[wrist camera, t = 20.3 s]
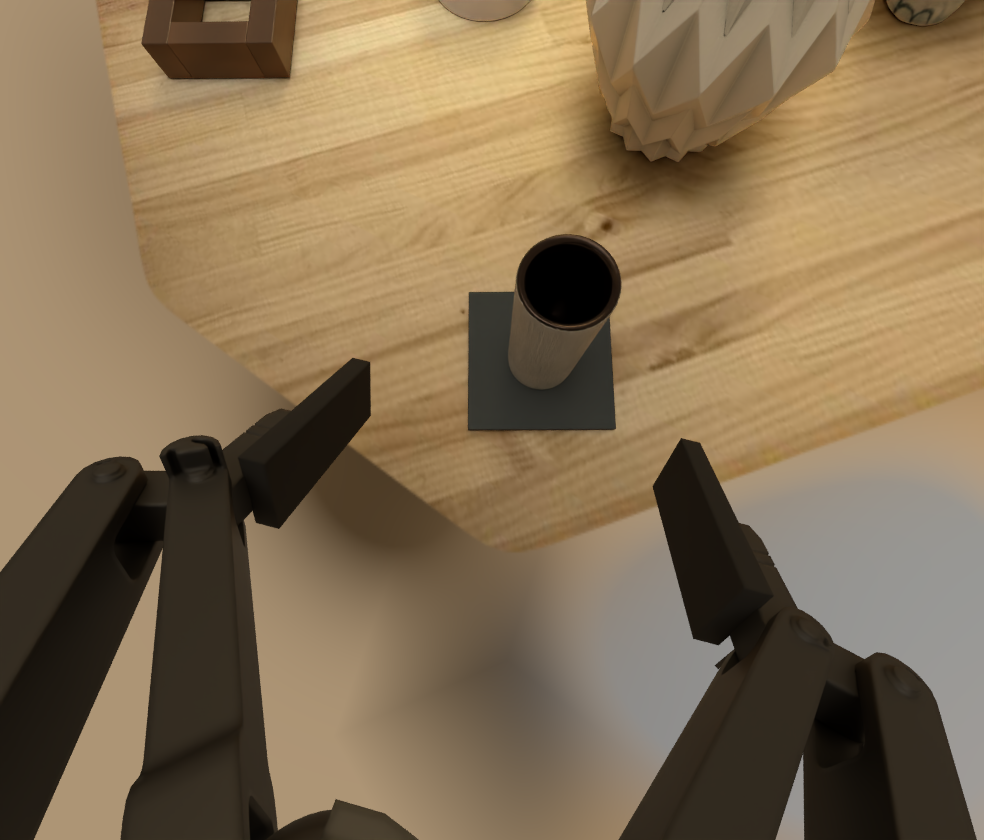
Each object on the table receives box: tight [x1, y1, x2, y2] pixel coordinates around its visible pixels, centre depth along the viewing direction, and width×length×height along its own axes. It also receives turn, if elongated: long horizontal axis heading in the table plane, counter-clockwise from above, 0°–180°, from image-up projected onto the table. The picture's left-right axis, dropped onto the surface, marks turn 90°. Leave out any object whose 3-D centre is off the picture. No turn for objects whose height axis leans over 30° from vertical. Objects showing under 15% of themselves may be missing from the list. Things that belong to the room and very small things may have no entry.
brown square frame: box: [142, 0, 297, 78], centre depth 30 cm, size 10×10×2 cm
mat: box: [468, 292, 616, 430], centre depth 26 cm, size 10×10×1 cm
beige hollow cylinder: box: [508, 234, 621, 390], centre depth 21 cm, size 4×4×10 cm
